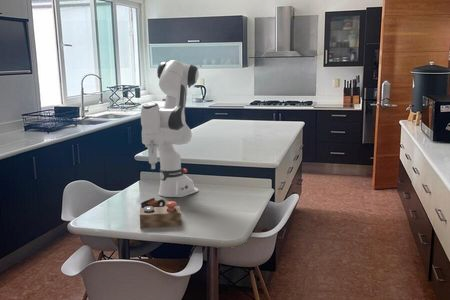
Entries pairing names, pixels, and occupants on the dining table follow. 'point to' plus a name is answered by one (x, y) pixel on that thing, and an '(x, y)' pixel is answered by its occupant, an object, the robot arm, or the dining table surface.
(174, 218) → the walnut plug panel
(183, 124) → the robot arm
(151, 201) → the pottery mug
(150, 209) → the steel plug
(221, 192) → the dining table surface
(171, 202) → the red plug
